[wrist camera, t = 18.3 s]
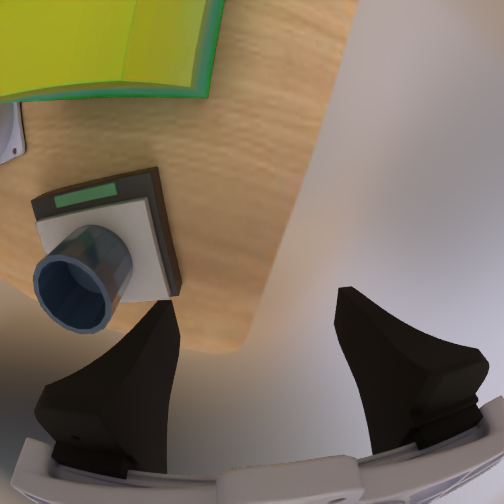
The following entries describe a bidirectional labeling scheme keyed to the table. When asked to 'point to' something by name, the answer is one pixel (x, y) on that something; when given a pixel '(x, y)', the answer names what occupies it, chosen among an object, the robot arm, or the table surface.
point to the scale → (119, 226)
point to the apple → (107, 48)
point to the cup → (84, 279)
